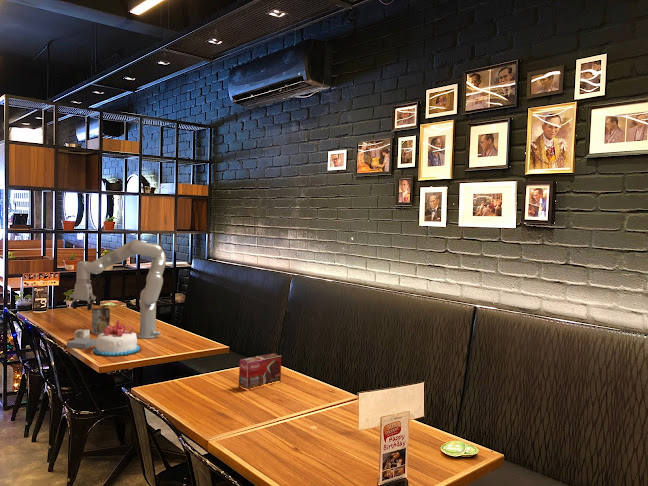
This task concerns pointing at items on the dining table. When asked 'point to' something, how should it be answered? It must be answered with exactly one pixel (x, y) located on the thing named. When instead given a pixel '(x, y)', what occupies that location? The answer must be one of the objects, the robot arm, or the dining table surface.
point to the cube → (82, 334)
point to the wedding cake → (116, 342)
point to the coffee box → (100, 319)
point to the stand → (81, 343)
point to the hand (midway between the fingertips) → (82, 309)
